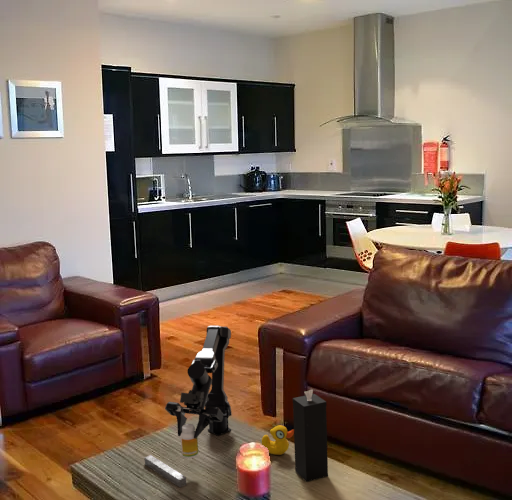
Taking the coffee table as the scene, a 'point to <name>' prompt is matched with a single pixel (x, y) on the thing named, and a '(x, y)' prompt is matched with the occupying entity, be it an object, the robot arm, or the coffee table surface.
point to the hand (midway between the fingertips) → (186, 437)
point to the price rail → (165, 471)
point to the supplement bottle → (188, 441)
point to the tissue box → (310, 436)
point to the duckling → (277, 440)
